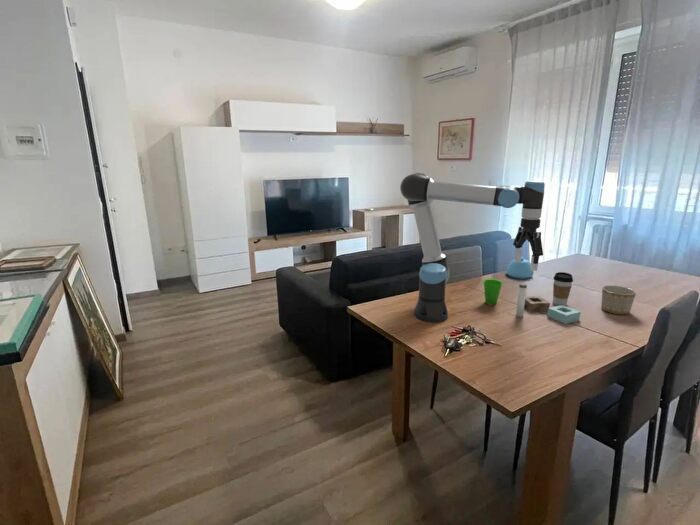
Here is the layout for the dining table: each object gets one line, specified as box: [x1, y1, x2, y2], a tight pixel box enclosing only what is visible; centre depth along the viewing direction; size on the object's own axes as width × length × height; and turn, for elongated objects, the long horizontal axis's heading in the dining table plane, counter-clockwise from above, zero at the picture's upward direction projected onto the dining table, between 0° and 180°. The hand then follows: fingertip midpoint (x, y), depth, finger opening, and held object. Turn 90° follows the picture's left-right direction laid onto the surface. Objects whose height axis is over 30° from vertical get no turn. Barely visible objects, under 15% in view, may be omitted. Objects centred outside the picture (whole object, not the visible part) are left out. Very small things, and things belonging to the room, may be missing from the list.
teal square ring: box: [546, 305, 581, 325], centre depth 167 cm, size 9×9×4 cm
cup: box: [482, 278, 504, 306], centre depth 185 cm, size 9×9×11 cm
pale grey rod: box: [515, 283, 528, 318], centre depth 168 cm, size 3×3×15 cm
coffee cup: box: [552, 271, 574, 306], centre depth 182 cm, size 8×8×15 cm
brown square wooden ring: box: [524, 295, 551, 312], centre depth 179 cm, size 9×9×4 cm
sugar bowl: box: [506, 256, 534, 280], centre depth 227 cm, size 15×15×12 cm
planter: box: [600, 284, 637, 316], centre depth 173 cm, size 13×13×10 cm
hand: (525, 266), depth 164 cm, fingers open, 13 cm apart
